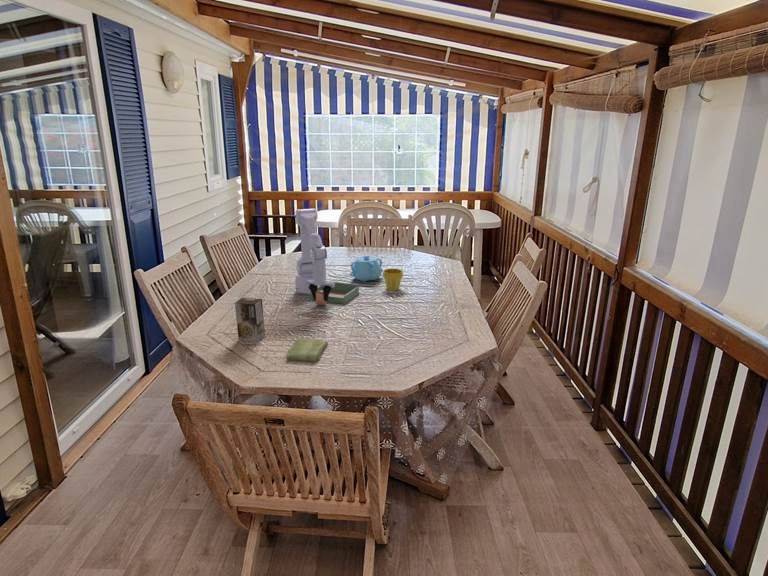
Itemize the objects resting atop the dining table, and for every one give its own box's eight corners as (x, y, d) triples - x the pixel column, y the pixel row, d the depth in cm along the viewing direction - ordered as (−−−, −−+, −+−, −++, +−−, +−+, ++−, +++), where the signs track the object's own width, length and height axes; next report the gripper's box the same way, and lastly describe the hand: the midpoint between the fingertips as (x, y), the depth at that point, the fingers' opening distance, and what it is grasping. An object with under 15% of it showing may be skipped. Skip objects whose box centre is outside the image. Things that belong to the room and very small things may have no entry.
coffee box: (265, 336, 206) (262, 298, 201) (258, 342, 200) (255, 303, 195) (245, 334, 208) (242, 297, 203) (237, 340, 202) (234, 302, 197)
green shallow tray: (309, 299, 250) (309, 290, 248) (325, 289, 265) (325, 280, 264) (344, 304, 244) (344, 294, 242) (358, 293, 259) (358, 284, 257)
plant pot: (400, 292, 261) (400, 274, 258) (381, 291, 263) (381, 273, 260) (404, 286, 271) (404, 268, 268) (385, 285, 273) (385, 267, 270)
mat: (304, 307, 239) (304, 307, 239) (314, 301, 248) (314, 301, 247) (327, 310, 235) (327, 310, 234) (336, 304, 243) (336, 303, 243)
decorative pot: (373, 284, 274) (373, 260, 270) (347, 281, 281) (346, 257, 277) (385, 277, 289) (385, 254, 284) (360, 273, 295) (360, 251, 291)
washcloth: (328, 344, 199) (328, 336, 198) (318, 364, 182) (318, 355, 181) (296, 342, 201) (296, 335, 200) (283, 362, 184) (282, 354, 183)
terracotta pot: (313, 304, 239) (313, 292, 238) (319, 301, 244) (318, 289, 243) (323, 305, 238) (323, 293, 236) (328, 302, 242) (328, 290, 241)
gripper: (301, 273, 235) (303, 300, 239) (329, 276, 230) (330, 304, 234) (309, 269, 241) (310, 296, 245) (336, 272, 236) (337, 299, 240)
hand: (320, 300), depth 240 cm, fingers closed on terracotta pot, 5 cm apart
